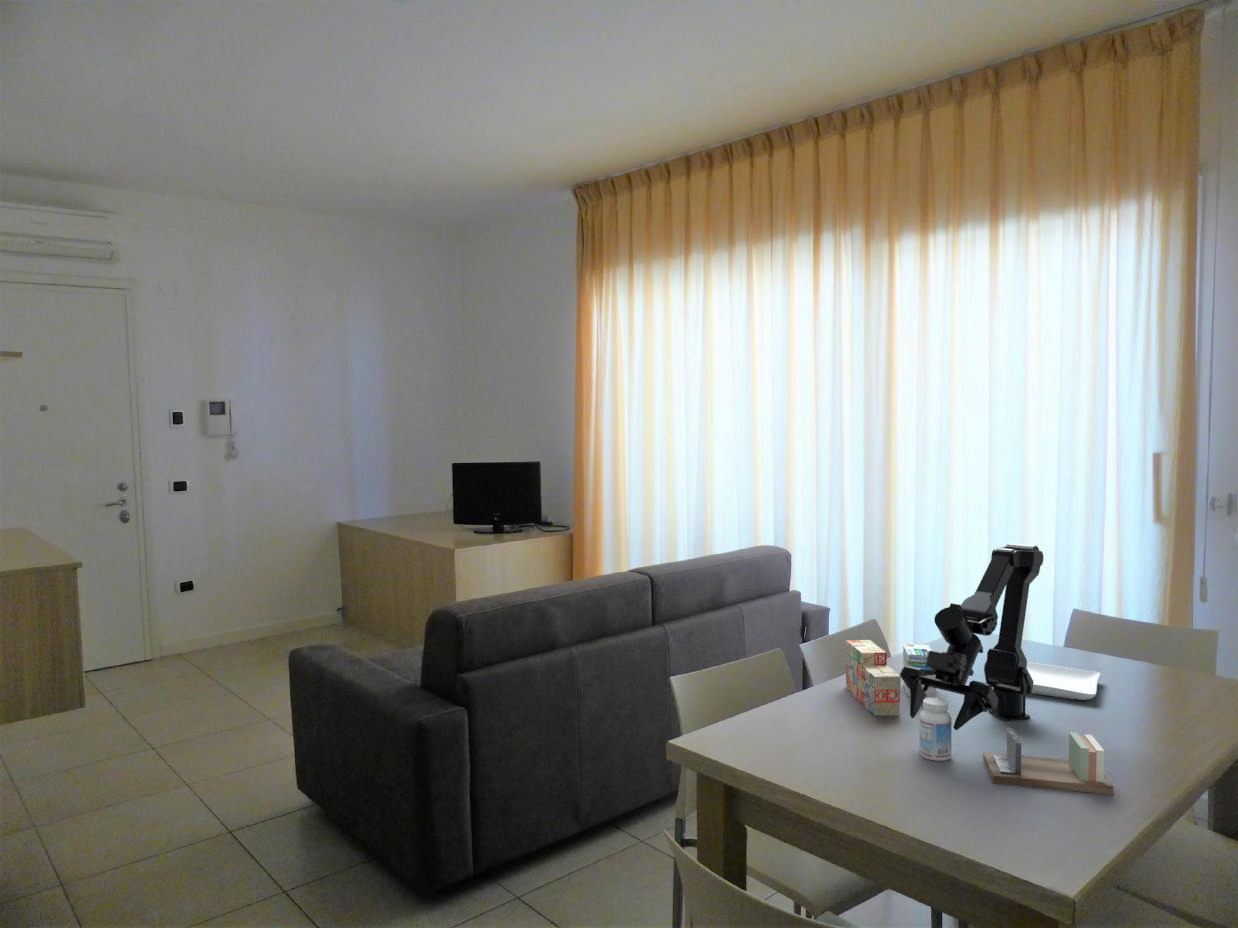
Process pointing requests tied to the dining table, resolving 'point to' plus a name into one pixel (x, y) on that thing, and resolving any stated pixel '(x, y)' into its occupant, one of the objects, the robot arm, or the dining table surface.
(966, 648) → the robot arm
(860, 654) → the stack of blocks
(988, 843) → the dining table surface
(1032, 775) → the shelf board
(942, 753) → the pill bottle
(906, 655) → the light bulb box
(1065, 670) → the salad plate
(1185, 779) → the dining table surface
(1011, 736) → the bookend
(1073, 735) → the row of books
